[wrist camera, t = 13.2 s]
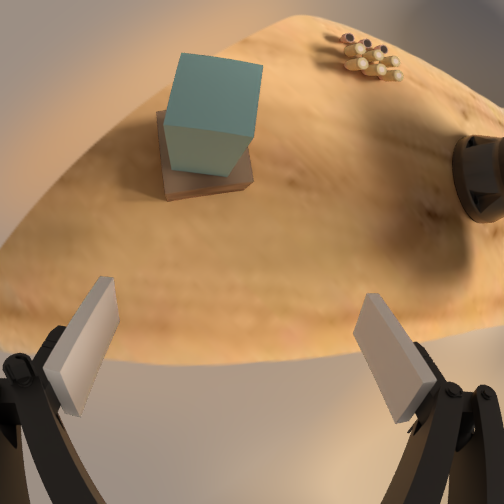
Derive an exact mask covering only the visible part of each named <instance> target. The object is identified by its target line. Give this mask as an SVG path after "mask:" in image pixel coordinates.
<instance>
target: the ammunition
mask: <svg viewBox="0 0 504 504" xmlns="http://www.w3.org/2000/svg"><path fill="white" fill-rule="evenodd" d="M354 39H355V38H354V36H353V34H351V33H346V34H344V35H342V37H341V39H340V41H341V42H343V43H351V42H353V41H354ZM371 46H372V43H371V41H370V40H369V39H363V40H360V41H359V42H358V43H357V44H353V45H350V46H346V47H345V48H344V53H345V54H346V55H347V56H349V57H351V56H356V55H362V57H360V58H356V59H351V60H348V61H347V62H346V63H345V64H344V67H345V68H346V69H348V70H351V71H353V70H361V71H362V73H363V74H365V75H368V76H378V77H379V79H381V80H383V81H402V80H403V73H402V72H401V71H400V70H389V71H387V69H386V67H398V66H399V65H400V59H399V58H398V57H397V56H389V57H384V55H383V54H386V53H387V52H388V48H387V47H386V46H385V45H379V46H376V47H375V48H374V49H373V50H371V51H367V52H366V49H367V48H370V47H371ZM372 61H379V64H373V65H368V62H372Z"/></svg>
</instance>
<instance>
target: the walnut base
mask: <svg viewBox="0 0 504 504" xmlns="http://www.w3.org/2000/svg"><path fill="white" fill-rule="evenodd" d="M166 111H167V110H165V111H158V112H156V114H157V126H158V136H159V146H160V156H161V165H162V173H163V181H164V189H165V195H166V199H167V202H168V201H174V200H180V199H186V198H193V197H199V196H206V195H213V194H220V193H227V192H234V191H242V190H244V189H245V188H247V187H248V186H249V185H250V184H251V183H253V182H254V180H253V174H252V168H251V162H250V156H249V150H248V147H247V148H246V150H245V151H244V153H243V154H242V156H241V157H240V159H239V160H238V162H237V163H236V165H235V166H234V168H233V169H232V171H231V172H230V174H229V175H228V177H222V176H215V175H208V174H200V173H192V172H184V171H176V170H172V169H171V164H170V159H169V153H168V148H167V143H166V137H165V131H164V126H163V124H164V119H165V115H166Z"/></svg>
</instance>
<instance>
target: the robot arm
mask: <svg viewBox="0 0 504 504" xmlns="http://www.w3.org/2000/svg"><path fill="white" fill-rule="evenodd" d="M453 175H454V181H455V186H456V190H457V193H458V196H459V199H460V201H461V203H462V205H463V207H464V209H465V211H466V212H467V214H468V215H469V216H470V217H471V218H472V219H473V220H474V221H476V222H478V223H492V222H495V221H497V220H499V219H501V218H503V217H504V137H503V138H498V137H490V136H482V135H471V136H468V137H465V138H462V139H461V140H459V141H458V143H457V145H456V147H455V150H454V154H453ZM119 322H120V319H119V313H118V307H117V300H116V293H115V285H114V278H112V277H102V276H100V277H99V279H98V280H97V282H96V283H95V284H94V286H93V287H92V289H91V290H90V292H89V293H88V295H87V296H86V298H85V299H84V301H83V302H82V304H81V305H80V307H79V308H78V310H77V311H76V313H75V315H74V316H73V318H72V319H71V321H70V322H69V324H68V326H67V327H65V326H60V325H58V326H57V327H56V328H55V329H53V330H52V331H51V332H50V333H49V335H48V336H47V338H46V341H44V342H43V344H42V347H40V349H39V350H38V352H37V354H36V355H35V357H34V359H33V360H31V358H30V357H29V356H28V355H26V354H23V353H16V354H13V355H11V356H9V357H8V358H7V359H6V360H5V362H4V364H3V371H4V373H5V375H6V377H7V378H0V504H30V500H29V494H28V489H27V483H26V476H25V470H24V461H23V451H22V441H21V440H22V439H21V425H22V429H23V432H24V435H25V438H26V441H27V444H28V446H29V449H30V452H31V455H32V457H33V460H34V463H35V465H36V468H37V470H38V473H39V475H40V477H41V479H42V482H43V484H44V486H45V489H46V491H47V493H48V495H49V497H50V499H51V501H52V503H53V504H106V503H105V501H104V499H103V498H102V496H101V495H100V493H99V491H98V490H97V488H96V486H95V485H94V483H93V482H92V480H91V478H90V476H89V475H88V473H87V471H86V469H85V468H84V466H83V464H82V462H81V460H80V458H79V456H78V454H77V453H76V450H75V448H74V446H73V444H72V442H71V440H70V438H69V436H68V434H67V432H66V429H65V427H64V425H63V423H62V421H61V418H60V416H59V414H58V410H59V408H60V405H61V407H62V409H63V411H64V413H66V414H70V415H73V416H77V417H81V415H82V413H83V410H84V407H85V404H86V402H87V399H88V396H89V394H90V391H91V389H92V386H93V383H94V381H95V378H96V376H97V373H98V371H99V368H100V366H101V363H102V361H103V359H104V356H105V354H106V352H107V349H108V347H109V345H110V342H111V340H112V338H113V335H114V333H115V331H116V329H117V326H118V324H119ZM353 335H354V337H355V339H356V341H357V343H358V345H359V347H360V349H361V351H362V353H363V355H364V357H365V359H366V361H367V363H368V365H369V367H370V370H371V372H372V374H373V376H374V378H375V380H376V382H377V384H378V387H379V389H380V391H381V393H382V395H383V398H384V400H385V402H386V404H387V406H388V408H389V411H390V413H391V415H392V418H393V420H394V422H395V424H397V423H402V422H407V421H409V420H410V419H411V418H412V416H413V415H414V413H415V414H416V416H417V418H418V419H417V420H416V421H415V423H414V424H413V426H412V427H411V428H410V429H409V430H408V432H407V433H410V432H411V430H412V432H411V435H410V437H409V440H408V443H407V445H406V448H405V450H404V453H403V456H402V458H401V461H400V463H399V465H398V468H397V470H396V472H395V475H394V477H393V479H392V481H391V483H390V486H389V488H388V490H387V492H386V494H385V496H384V498H383V500H382V502H381V504H440V502H441V499H442V496H443V493H444V490H445V486H446V483H447V479H448V476H449V494H448V504H504V428H503V422H502V417H501V412H500V407H499V403H498V399H497V395H496V393H495V391H494V390H493V389H492V388H491V387H489V386H487V385H480V386H478V387H477V389H476V390H475V391H474V392H463V390H462V388H460V386H459V385H457V384H455V383H453V382H447V381H446V380H445V378H444V377H443V375H442V374H441V372H440V371H439V369H438V368H437V366H436V365H435V363H434V362H433V360H432V359H431V357H429V354H428V353H427V351H426V350H425V348H424V347H422V346H421V345H420V344H419V343H418V342H412V340H411V339H410V338H409V336H408V335H407V333H406V332H405V330H404V329H403V327H402V326H401V324H400V323H399V321H398V320H397V319H396V317H395V316H394V314H393V313H392V311H391V310H390V309H389V307H388V306H387V304H386V303H385V302H384V300H383V299H382V297H381V296H380V295H379V294H377V293H367V294H366V297H365V300H364V303H363V306H362V309H361V312H360V315H359V318H358V321H357V323H356V326H355V329H354V332H353ZM474 428H475V432H474Z"/></svg>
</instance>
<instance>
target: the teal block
mask: <svg viewBox="0 0 504 504" xmlns="http://www.w3.org/2000/svg"><path fill="white" fill-rule="evenodd" d="M262 71H263V65H258V64H253V63H248V62H243V61H238V60H232V59H226V58H219V57H212V56H205V55H196V54H188V53H181V56H180V59H179V63H178V67H177V70H176V74H175V78H174V82H173V86H172V90H171V94H170V98H169V102H168V106H167V111H166V115H165V119H164V124H163V126H164V131H165V137H166V143H167V148H168V153H169V159H170V164H171V169H172V170H176V171H184V172H192V173H200V174H208V175H215V176H222V177H228V175H229V174H230V172H231V171H232V169H233V168H234V166H235V165H236V163H237V162H238V160H239V159H240V157H241V156H242V154H243V153H244V151H245V150H246V148H247V147H248V145H249V144H250V142H251V141H252V139H253V138H254V131H255V124H256V116H257V108H258V101H259V93H260V85H261V78H262Z"/></svg>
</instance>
